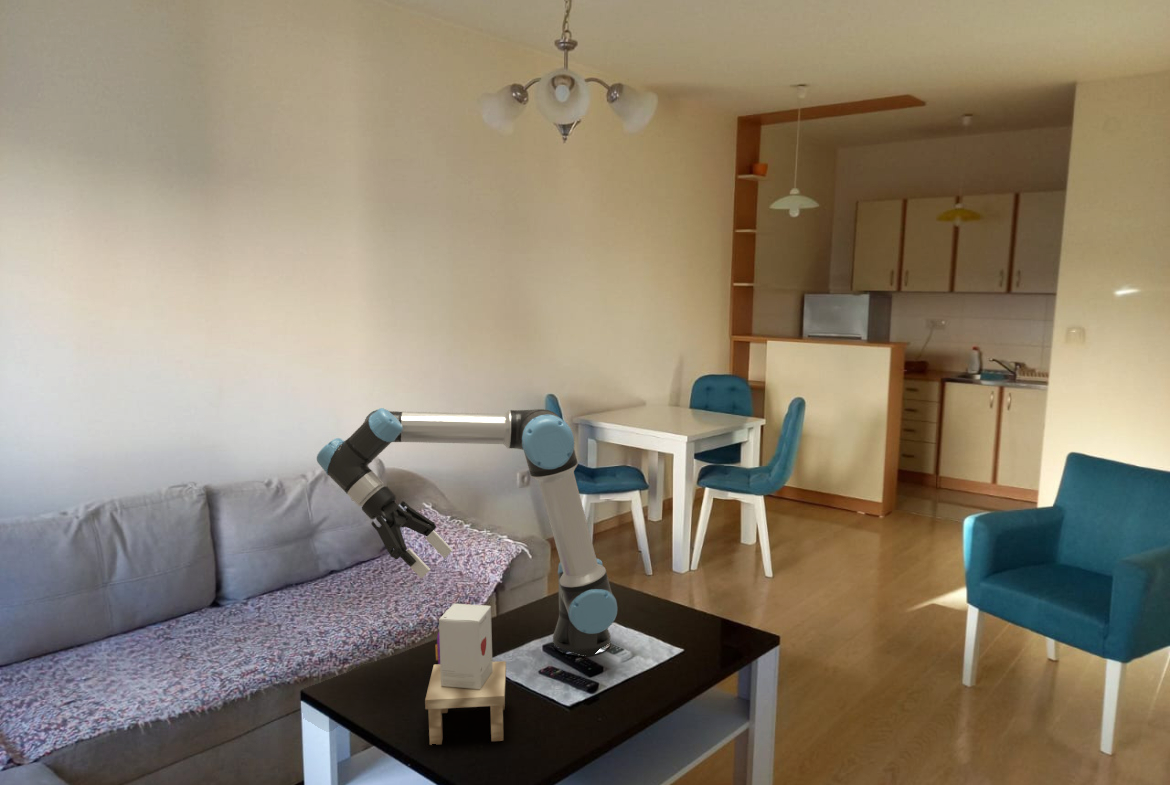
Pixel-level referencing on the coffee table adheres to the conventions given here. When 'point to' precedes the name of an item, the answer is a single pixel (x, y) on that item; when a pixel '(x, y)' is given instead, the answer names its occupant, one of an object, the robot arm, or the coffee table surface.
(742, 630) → the coffee table surface
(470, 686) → the supplement box
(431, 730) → the low wooden platform
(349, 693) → the coffee table surface
